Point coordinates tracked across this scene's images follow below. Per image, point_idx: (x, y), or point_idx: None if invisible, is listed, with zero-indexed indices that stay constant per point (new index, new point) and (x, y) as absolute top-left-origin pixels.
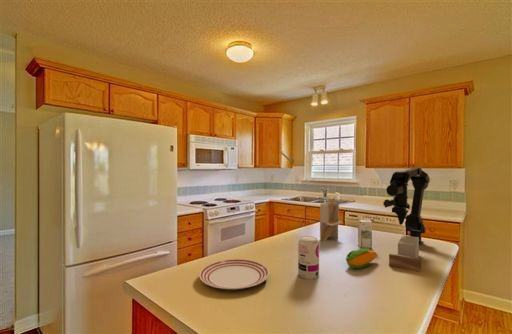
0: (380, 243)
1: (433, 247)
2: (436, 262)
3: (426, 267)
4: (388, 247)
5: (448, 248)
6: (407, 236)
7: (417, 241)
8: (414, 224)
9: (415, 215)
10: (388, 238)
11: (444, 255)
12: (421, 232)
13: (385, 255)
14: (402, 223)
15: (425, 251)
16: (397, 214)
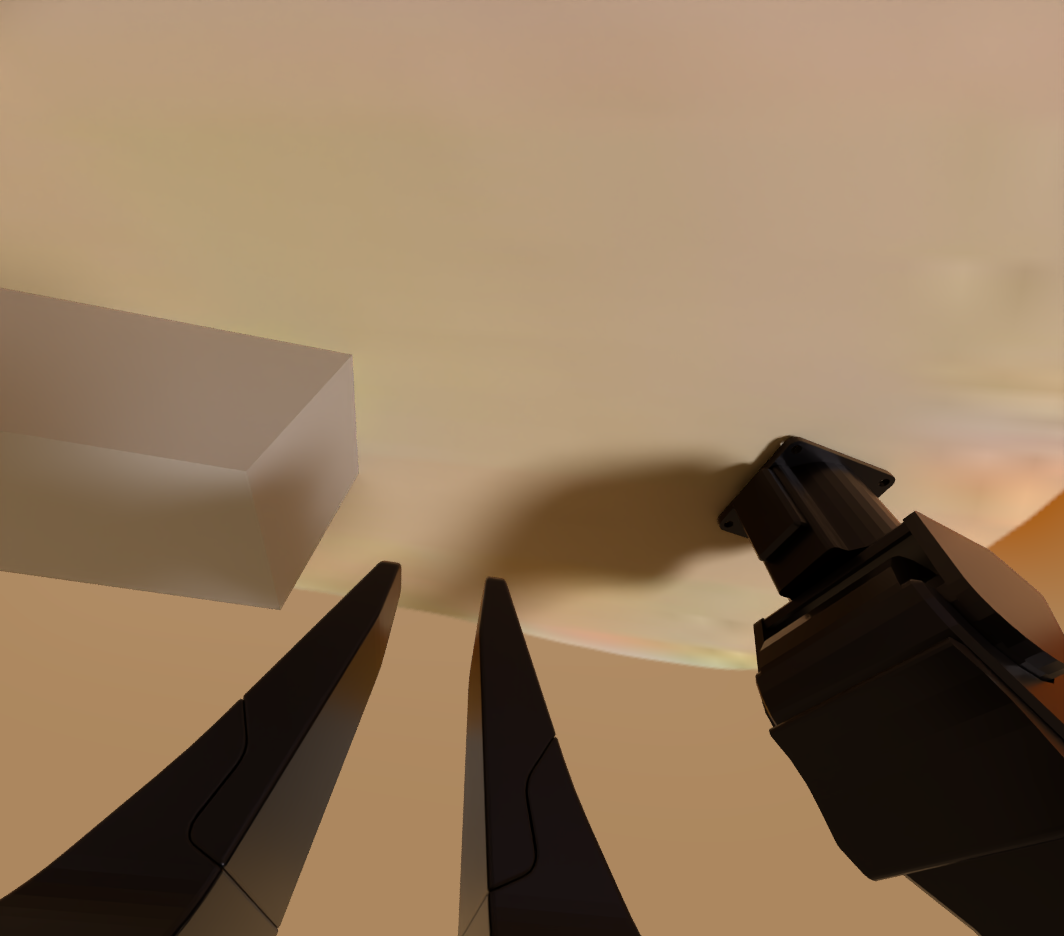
0: (684, 48)
1: (652, 583)
2: None
3: None
4: (490, 193)
5: (652, 643)
6: (215, 517)
7: (96, 575)
8: (810, 685)
9: (973, 876)
10: (1023, 210)
11: (463, 602)
12: (755, 632)
13: (76, 137)
14: (479, 613)
15: (508, 526)
16: (18, 914)
